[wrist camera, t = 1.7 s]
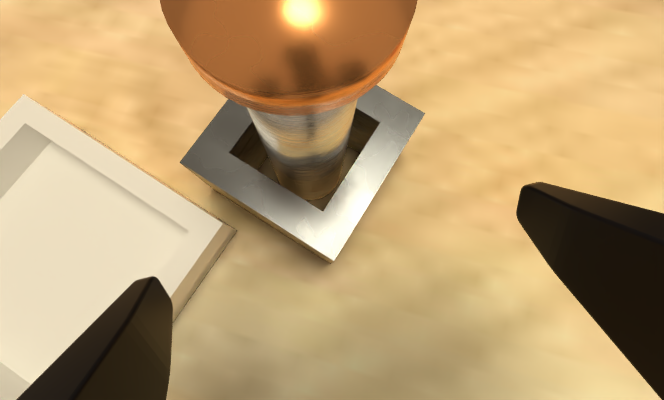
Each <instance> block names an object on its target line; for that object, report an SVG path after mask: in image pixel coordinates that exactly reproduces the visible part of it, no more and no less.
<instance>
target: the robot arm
mask: <svg viewBox="0 0 664 400" xmlns="http://www.w3.org/2000/svg"><path fill="white" fill-rule="evenodd" d="M516 214H517V218H518V221H519V223H520V224H521V225H522V227H523V228H524V230H525V231H526V233H527V234H528V236H529V237H530V239H531V240H532V241H533V243H534V244H535V246H536V247H537V249H538V250H539V252H540V253H541V255H542V256H543V258H544V259H545V260H546V262H547V263H548V265H549V266H550V267H551V269H552V270H553V271H554V273H555V274H556V275H557V276H558V278H559V279H560V280H561V281H562V282H563V283H564V285H565V286H566V287H567V288H568V289H569V291H570V292H571V293H572V294H573V295H574V296H575V298H576V299H577V300H578V301H579V302H580V304H581V305H582V306H583V307H584V308H585V309H586V311H587V312H588V313H589V314H590V315H591V317H592V318H593V319H594V320H595V321H596V322H597V324H598V325H599V326H600V327H601V328H602V330H603V331H604V332H605V333H606V334H607V335H608V337H609V338H610V339H611V340H612V341H613V343H614V344H615V345H616V346H617V347H618V348H619V350H620V351H621V352H622V353H623V354H624V356H625V357H626V358H627V359H628V360H629V361H630V363H631V364H632V365H633V366H634V367H635V369H636V370H637V371H638V372H639V373H640V374H641V376H642V377H643V378H644V379H645V380H646V382H647V383H648V384H649V385H650V386H651V387H652V389H653V390H654V391H655V392H656V393H657V395H658V396H659V397H660V398H661V399H662V400H664V214H663V213H659V212H656V211H652V210H648V209H644V208H640V207H636V206H632V205H628V204H624V203H621V202H617V201H613V200H609V199H605V198H601V197H597V196H593V195H590V194H586V193H582V192H578V191H574V190H570V189H566V188H562V187H559V186H555V185H551V184H547V183H543V182H536V183H532V184H528V185H525V186H523V187H522V189H521V191H520V196H519V201H518V206H517V212H516ZM172 321H173V304H172V301H171V298H170V297H169V295H168V293H167V292H166V290H165V289H164V287H163V285H162V284H161V282H160V281H159V279H158V278H157V277H155V276H150V277H146V278H142V279H138V280H136V281H134V282H133V283H132V284H131V285H130V286H129V287H128V288H127V289H126V290H125V291H124V292H123V293H122V294H121V295H120V296H119V297H118V298H117V299H116V300H115V301H114V302H113V303H112V304H111V305H110V306H109V307H108V308H107V309H106V310H105V311H104V312H103V313H102V314H101V315H100V316H99V317H98V318H97V319H96V320H95V321H94V322H93V323H92V324H91V325H90V326H89V327H88V328H87V329H86V330H85V331H84V332H83V333H82V334H81V335H80V336H79V337H78V338H77V339H76V340H75V341H74V342H73V343H72V344H71V345H70V346H69V347H68V348H67V349H66V350H65V351H64V352H63V353H62V354H61V355H60V356H59V357H58V358H57V359H56V360H55V361H54V362H53V363H52V364H51V365H50V366H49V367H48V368H47V369H46V370H45V371H44V372H43V373H42V374H41V375H40V376H39V377H38V378H37V379H36V380H35V381H34V382H33V383H32V384H31V385H30V386H29V387H28V388H27V389H26V390H25V391H24V392H23V393H22V394H21V395H20V396H19V397H18V398H17V399H16V400H166V396H167V390H168V384H169V376H170V365H171V345H172Z"/></svg>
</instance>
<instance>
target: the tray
mask: <svg viewBox="0 0 664 400" xmlns="http://www.w3.org/2000/svg"><path fill="white" fill-rule="evenodd" d="M236 231H237V230H235V229H234V228H232V227H231V226H229V225H228V224H226V223H225V222H223V221H222V220H220V219H218V218H217V217H215V216H214V215H212V214H211V213H209V212H208V211H206V210H205V209H203V208H201V207H200V206H198V205H197V204H195V203H194V202H192V201H191V200H189V199H188V198H186V197H184V196H183V195H181V194H180V193H178V192H177V191H175V190H174V189H172V188H171V187H169V186H167V185H166V184H164V183H163V182H161V181H160V180H158V179H157V178H155V177H154V176H152V175H151V174H149V173H147V172H146V171H144V170H143V169H141V168H140V167H138V166H137V165H135V164H134V163H132V162H130V161H129V160H127V159H126V158H124V157H123V156H121V155H120V154H118V153H117V152H115V151H113V150H112V149H110V148H109V147H107V146H106V145H104V144H103V143H101V142H100V141H98V140H96V139H95V138H93V137H92V136H90V135H89V134H87V133H86V132H84V131H83V130H81V129H79V128H78V127H76V126H75V125H73V124H72V123H70V122H69V121H67V120H66V119H64V118H62V117H61V116H59V115H57V114H56V113H54V112H52V111H51V110H49V109H47V108H46V107H44V106H42V105H41V104H39V103H38V102H36V101H34V100H33V99H31V98H29V97H28V96H26V95H24V94H23V95H22V97H21V98H20V99H19V100H18V101H17V102H16V103H15V104H14V105H13V106H12V107H11V108H10V109H9V111H8V112H7V113H6V114H5V115H4V116H3V117H2V118H1V119H0V400H16V399H17V398H18V397H19V396H20V395H21V394H22V393H23V392H24V391H25V390H26V389H27V388H28V387H29V386H30V385H31V384H32V383H33V382H34V381H35V380H36V379H37V378H38V377H39V376H40V375H41V374H42V373H43V372H44V371H45V370H46V369H47V368H48V367H49V366H50V365H51V364H52V363H53V362H54V361H55V360H56V359H57V358H58V357H59V356H60V355H61V354H62V353H63V352H64V351H65V350H66V349H67V348H68V347H69V346H70V345H71V344H72V343H73V342H74V341H75V340H76V339H77V338H78V337H79V336H80V335H81V334H82V333H83V332H84V331H85V330H86V329H87V328H88V327H89V326H90V325H91V324H92V323H93V322H94V321H95V320H96V319H97V318H98V317H99V316H100V315H101V314H102V313H103V312H104V311H105V310H106V309H107V308H108V307H109V306H110V305H111V304H112V303H113V302H114V301H115V300H116V299H117V298H118V297H119V296H120V295H121V294H122V293H123V292H124V291H125V290H126V289H127V288H128V287H129V286H130V285H131V284H132V283H133V282H134V281H136V280H138V279H142V278H146V277H150V276H155V277H157V278H158V279H159V281H160V282H161V284H162V285H163V287H164V289H165V290H166V292H167V293H168V295H169V297H170V298H171V301H172V304H173V321H172V323H173V322H174V320H175V319H176V318H177V316H178V315H179V313H180V312H181V310H182V309H183V307H184V306H185V305H186V303H187V302H188V300H189V299H190V297H191V296H192V295H193V293H194V292H195V290H196V289H197V287H198V286H199V284H200V283H201V282H202V280H203V279H204V277H205V276H206V274H207V273H208V272H209V270H210V269H211V267H212V266H213V264H214V263H215V262H216V260H217V259H218V257H219V256H220V254H221V253H222V251H223V250H224V249H225V247H226V246H227V244H228V243H229V241H230V240H231V239H232V237H233V236H234V234H235V233H236Z"/></svg>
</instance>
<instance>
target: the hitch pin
mask: <svg viewBox="0 0 664 400" xmlns="http://www.w3.org/2000/svg"><path fill="white" fill-rule="evenodd" d="M160 3H161V7H162V11H163V14H164V16H165V19H166V21H167V24H168V26H169V27H170V29H171V31H172V32H173V34H174V36H175V37H176V39H177V41H178V42H179V44H180V46H181V47H182V49H183V51H184V52H185V54H186V55H187V57H188V59H189V60H190V62H191V64H192V65H193V67H194V68H195V69H196V71H197V72H198V73H199V74H200V76H201V77H202V78H203V79H204V80H205V81H206V82H207V83H208V84H209V85H210V86H211V87H213V88H214V89H215V90H216V91H218V92H219V93H221V94H222V95H223V96H225V97H226V98H228V99H230V100H232V101H234V102H236V103H238V104H240V105H242V106H245V107H247V109H248V111H249V113H250V116H251V118H252V120H253V123H254V125H255V127H256V130H257V132H258V134H259V136H260V139H261V141H262V143H263V146H264V148H265V150H266V152H267V155H268V157H269V159H270V162H271V164H272V166H273V168H274V171H275V173H276V175H277V178H278V180H279V182H280V184H281V186H283V187H284V188H286V189H288V190H289V191H291V192H292V193H294V194H296V195H297V196H299V197H300V198H302V199H303V200H316V199H320V198H322V197H324V196H326V195H328V194H329V193H330V192H332V190H333V189H334V188H335V187H336V186H337V184H338V182H339V179H340V176H341V172H342V167H343V163H344V158H345V154H346V149H347V145H348V140H349V136H350V131H351V127H352V122H353V117H354V113H355V108H356V104H357V99H358V98H359V97H361V96H363V95H364V94H365V93H367V92H368V91H369V90H371V89H372V88H373V87H374V86H375V85H377V84H378V83H379V82H380V81H381V80H382V79H383V78H384V76H385V75H386V74H387V73H388V71H389V70H390V69H391V67H392V66H393V64H394V62H395V61H396V59H397V57H398V55H399V53H400V50H401V48H402V45H403V43H404V40H405V37H406V34H407V32H408V29H409V26H410V24H411V21H412V18H413V15H414V13H415V9H416V4H417V0H160Z"/></svg>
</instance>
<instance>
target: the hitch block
mask: <svg viewBox="0 0 664 400" xmlns="http://www.w3.org/2000/svg"><path fill="white" fill-rule="evenodd" d="M424 114H425V113H423V112H422V111H420V110H418V109H416V108H415V107H413V106H411V105H410V104H408V103H406V102H404V101H403V100H401V99H399V98H398V97H396V96H394V95H392V94H391V93H389V92H387V91H385V90H384V89H382V88H380V87H379V86H377V85H375V86H374V87H373V88H372V89H371V90H369V91H368V92H367V93H365V94H364V95H363V96H361V97H359V98H358V99H357V104H356V108H355V113H354V117H353V122H352V127H351V131H350V136H349V140H348V146H349V147H351V148H353V149H354V150H356V151H358V152H359V153H360V155H359V157H358V158H357V160H356V161H355V163H354V164H353V166H352V167H351V169H350V170H349V172H348V174H347V175H346V177H345V178H344V180H343V181H342V183H341V184H340V186H339V187H338V189H337V191H336V192H335V194H334V195H333V197H332V198H331V200H330V201H329V203H328V205H327V206H326V208H325V209H324V211H321V210H319V209H318V208H316V207H315V206H313V205H311V204H310V203H308V202H307V201H305V200H303V199H302V198H300V197H299V196H297V195H296V194H294V193H292V192H291V191H289V190H288V189H286V188H284V187H283V186H281V185H280V184H278V183H276V182H275V181H273V180H272V179H270V178H268V177H267V176H265V175H264V174H262V173H260V172H259V171H257V170H258V169H259V168H260V166H261V165H262V163H263V162H264V161H265V159H266V158H267V156H268V155H267V152H266V150H265V148H264V146H263V143H262V141H261V139H260V136H259V134H258V132H257V130H256V127H255V125H254V123H253V120H252V118H251V116H250V113H249V111H248V109H247V107H245V106H242V105H240V104H238V103H236V102H234V101H232V100H230V99H228V100H227V102H226V103H225V104H224V106H223V107H222V108H221V109H220V111H219V112H218V113H217V115H216V116H215V117H214V119H213V120H212V121H211V122H210V124H209V125H208V126H207V128H206V129H205V130H204V132H203V133H202V134H201V135H200V137H199V138H198V139H197V141H196V142H195V143H194V144H193V146H192V147H191V148H190V150H189V151H188V152H187V154H186V155H185V156H184V157H183V159H182V160H181V161H180V163H181V164H182V165H184V166H185V167H186V168H187V169H189V170H190V171H191V172H192V173H194V174H195V175H196V176H197V177H199V178H200V179H201V180H203V181H204V182H205V183H206V184H208V185H209V186H210V187H211V188H213V189H214V190H216V191H217V192H219V193H220V194H222V195H224V196H225V197H227V198H228V199H230V200H231V201H233V202H235V203H236V204H238V205H239V206H241V207H242V208H244V209H245V210H247V211H249V212H250V213H252V214H253V215H255V216H256V217H258V218H260V219H261V220H263V221H264V222H266V223H267V224H269V225H270V226H272V227H274V228H275V229H277V230H278V231H280V232H281V233H283V234H285V235H286V236H288V237H289V238H291V239H292V240H294V241H295V242H297V243H299V244H300V245H302V246H303V247H305V248H306V249H308V250H309V251H311V252H313V253H314V254H316V255H317V256H319V257H320V258H322V259H324V260H325V261H327V262H328V263H330V264H331V263H332V262H333V261H334V260H335V259H336V257H337V255H338V254H339V252H340V251H341V249H342V247H343V246H344V244H345V242H346V241H347V239H348V238H349V236H350V234H351V233H352V231H353V229H354V228H355V226H356V225H357V223H358V221H359V220H360V218H361V217H362V215H363V213H364V212H365V210H366V208H367V207H368V205H369V204H370V202H371V200H372V199H373V197H374V195H375V194H376V192H377V191H378V189H379V187H380V186H381V184H382V182H383V181H384V179H385V178H386V176H387V174H388V173H389V171H390V170H391V168H392V166H393V165H394V163H395V161H396V160H397V158H398V157H399V155H400V153H401V152H402V150H403V148H404V147H405V145H406V144H407V142H408V140H409V139H410V137H411V135H412V134H413V132H414V131H415V129H416V127H417V126H418V124H419V122H420V121H421V119H422V118H423V116H424Z"/></svg>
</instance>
